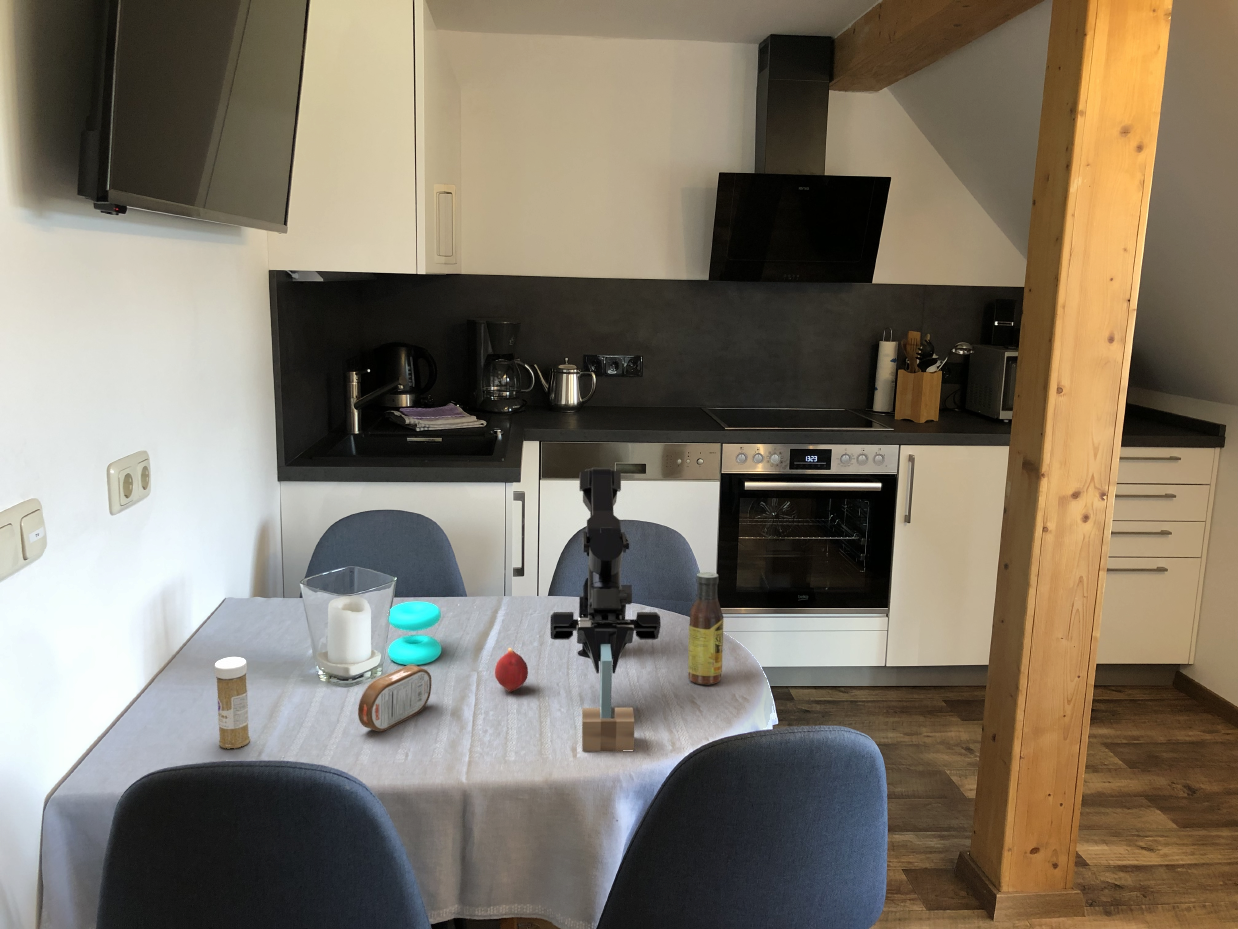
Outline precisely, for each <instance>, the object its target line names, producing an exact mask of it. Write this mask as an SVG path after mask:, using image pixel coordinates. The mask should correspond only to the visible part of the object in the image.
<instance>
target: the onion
mask: <svg viewBox="0 0 1238 929" xmlns="http://www.w3.org/2000/svg"><path fill="white" fill-rule="evenodd" d="M494 669H495V670H494V677H495V679H496V681H497V682H498V684H499V685H500V686H502V687H503V688H504V689H505V690H506V691H508V692H514V691H516V690H518V689H519V688H520V687H521V686H522V685H524V684H525V683H526V681H527V679H528V675H529V668H528V664H527V662H526V661H525V660H524V658H523V656H521V655H520V654H518V653H517V652H515V651H514V650H513V648H511V647H508V648H507V653H504V655H503V656H501V657H500V658H499V659H498V661H497V662H496V665H495V668H494Z"/></svg>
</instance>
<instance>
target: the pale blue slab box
mask: <svg viewBox="0 0 1238 929" xmlns="http://www.w3.org/2000/svg"><path fill="white" fill-rule="evenodd" d="M612 664H613V657H612V656H611V647H610V644H601V656H600V660H599V708H600V715H601V719H612V683H613V680H612V679H613V673H612Z"/></svg>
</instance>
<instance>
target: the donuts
mask: <svg viewBox="0 0 1238 929" xmlns="http://www.w3.org/2000/svg"><path fill="white" fill-rule="evenodd" d="M389 610H390V616H389V621H388V622H389V625H391V626H393V627H394V628H395V629H398V630H400V631H406V632H418V631H424V630H427V629H430V628H432V627H434V626H435V625H437V624H438V623H439V621H440V620H441V617H442V616H441V615H442V613H441V610H440V608H439V607H438V606H437V605H436V604H433V603H431V602H426V601H407V602H402V603H399V604H397V605H394V606H393V607H391V608H390V609H389ZM387 652H388V657H389V658H390V660H391V661H393V662H394V663H396V664H398V665H405V666H407V665H411V664H414V665H417V666H420V665H426V664H429V663H431V662H433V661H435V660H437V659H438V658H439V656H440V655H441V653H442V646H441V643H440V642H439V641H438V640H437V639H436V638H434V637H432V636H430V635H424V634H408V635H405V636H401V637H399V638H397V639H394V640H393V642H392V643H391V644H389V647H388V650H387Z"/></svg>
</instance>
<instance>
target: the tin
mask: <svg viewBox="0 0 1238 929" xmlns="http://www.w3.org/2000/svg"><path fill="white" fill-rule="evenodd" d="M431 691H432V675H431V674H430V672H429V671H428V670H427V669H425V668H423V667H421V666H419V665H414V664H411V665H405V666H403V667H400V668H399V669H396V670H393V671H392V672H390V673H387V674H385V675H382V676H380V677H378V678H376V679H375V680H373V681H372V682H370V683H369V684H368V685H367V687H366V688H365V689H364V691H363V693H362V695H361V697H360V699H359V703H358V710H357V716H358V720H359V722H360V724H361V726H363V727H364V728H367V729H371V730H373V731H376V732H384V731H387V730H389V729H390V728H392V727H394V726H396V725H398V724H400V723H402V722H405V721H406V720H408V719H410V718H412V717H415V716H416V715H418V714H419V713H420V712H421V711H422V710H424V708H425V707H426V705H427V704H428V702H429V699H430V697H431V693H432V692H431Z"/></svg>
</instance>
